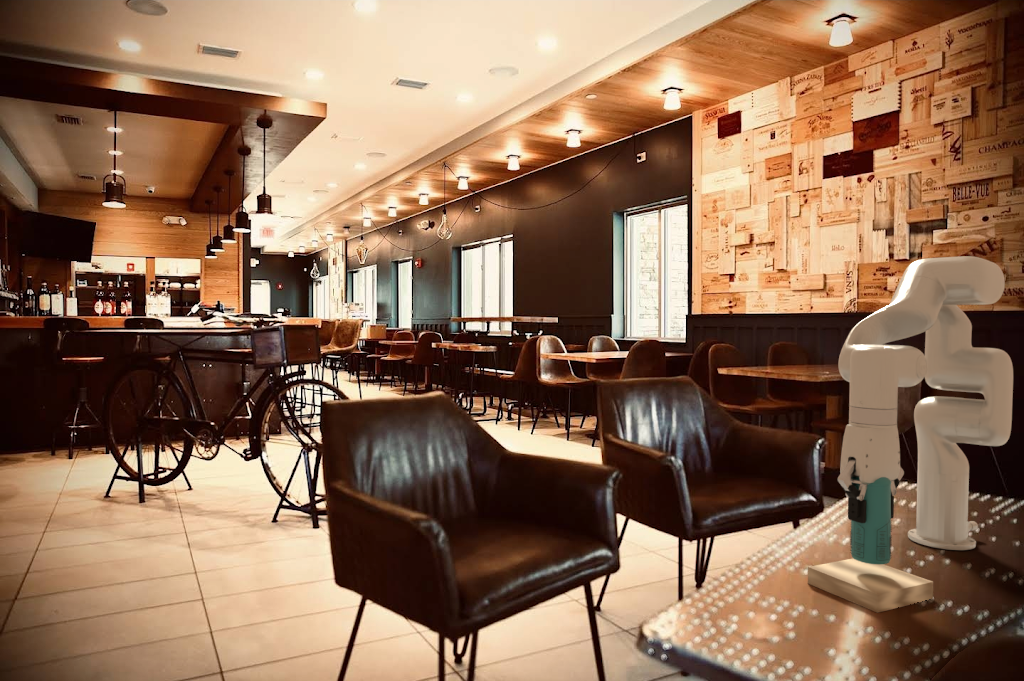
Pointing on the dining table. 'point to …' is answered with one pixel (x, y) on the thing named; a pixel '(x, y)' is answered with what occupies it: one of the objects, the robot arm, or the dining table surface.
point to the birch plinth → (870, 584)
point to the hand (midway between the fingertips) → (870, 517)
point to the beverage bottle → (874, 525)
